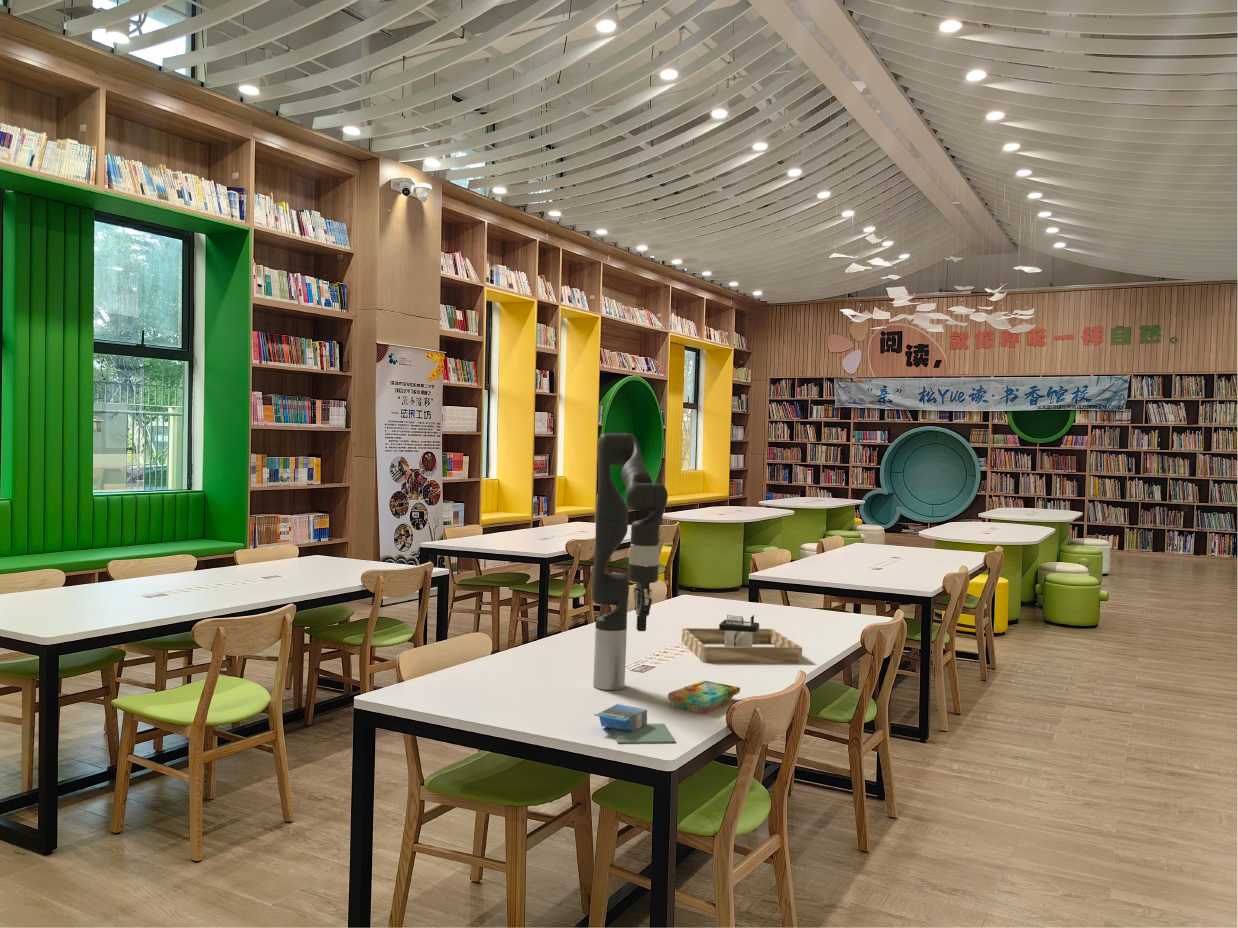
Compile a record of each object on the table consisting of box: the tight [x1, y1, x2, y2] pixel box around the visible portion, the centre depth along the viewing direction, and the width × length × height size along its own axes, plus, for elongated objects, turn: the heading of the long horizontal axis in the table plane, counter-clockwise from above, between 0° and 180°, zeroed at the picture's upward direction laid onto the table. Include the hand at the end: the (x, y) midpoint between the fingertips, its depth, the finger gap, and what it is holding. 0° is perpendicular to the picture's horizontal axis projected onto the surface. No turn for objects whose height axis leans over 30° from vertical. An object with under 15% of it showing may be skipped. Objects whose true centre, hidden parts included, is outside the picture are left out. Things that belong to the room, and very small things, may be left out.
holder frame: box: [681, 627, 803, 663], centre depth 318 cm, size 32×34×5 cm
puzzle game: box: [667, 679, 741, 714], centre depth 250 cm, size 12×5×20 cm
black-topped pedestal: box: [718, 613, 760, 647], centre depth 319 cm, size 28×26×13 cm
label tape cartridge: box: [593, 703, 648, 732], centre depth 224 cm, size 9×4×12 cm
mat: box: [610, 723, 677, 745], centre depth 220 cm, size 14×14×1 cm
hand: (641, 630), depth 227 cm, fingers closed
